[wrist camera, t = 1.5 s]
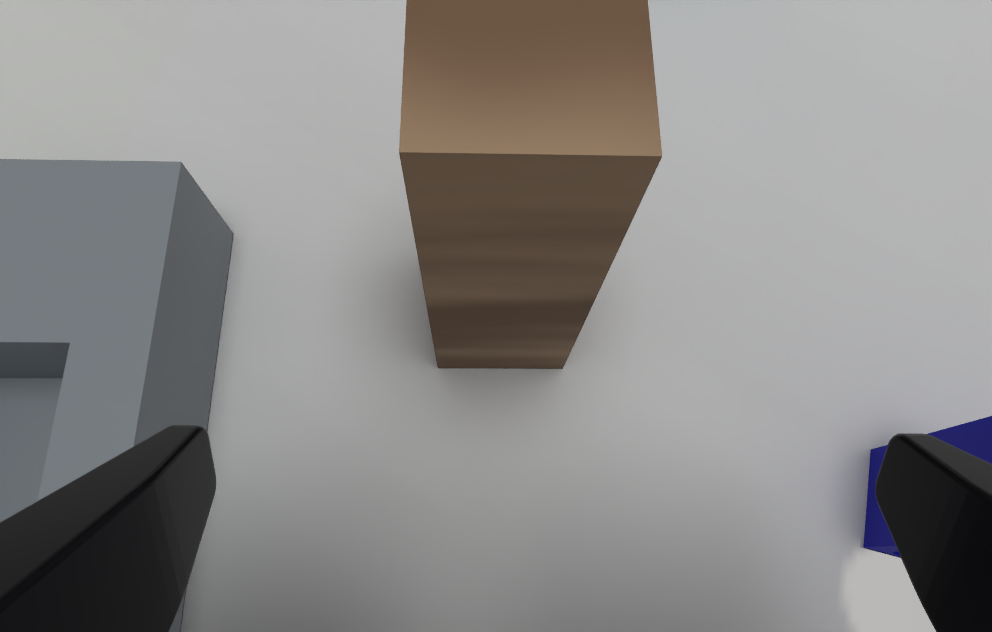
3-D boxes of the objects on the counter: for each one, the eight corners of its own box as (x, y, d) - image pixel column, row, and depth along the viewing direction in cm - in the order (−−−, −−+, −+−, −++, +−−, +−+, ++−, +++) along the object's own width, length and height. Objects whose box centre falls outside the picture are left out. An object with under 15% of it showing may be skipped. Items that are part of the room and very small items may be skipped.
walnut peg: (562, 368, 22) (661, 155, 11) (437, 367, 22) (399, 152, 11) (558, 254, 24) (642, -47, 12) (440, 253, 24) (409, -53, 12)
